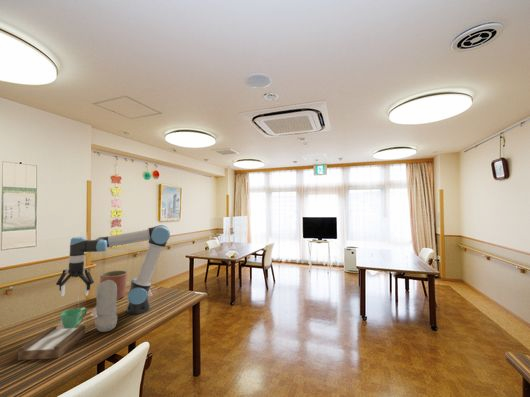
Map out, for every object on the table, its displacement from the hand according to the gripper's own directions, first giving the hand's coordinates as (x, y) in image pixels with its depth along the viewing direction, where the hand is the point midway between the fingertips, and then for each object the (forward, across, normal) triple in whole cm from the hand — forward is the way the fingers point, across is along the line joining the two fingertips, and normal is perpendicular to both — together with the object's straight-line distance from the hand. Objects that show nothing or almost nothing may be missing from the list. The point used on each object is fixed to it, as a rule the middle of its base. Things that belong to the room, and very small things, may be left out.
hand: (74, 295), depth 153 cm
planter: (+19, -3, -48) cm, 52 cm away
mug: (+19, -1, +1) cm, 19 cm away
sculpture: (+19, -22, +7) cm, 30 cm away
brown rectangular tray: (+19, -4, +23) cm, 30 cm away
